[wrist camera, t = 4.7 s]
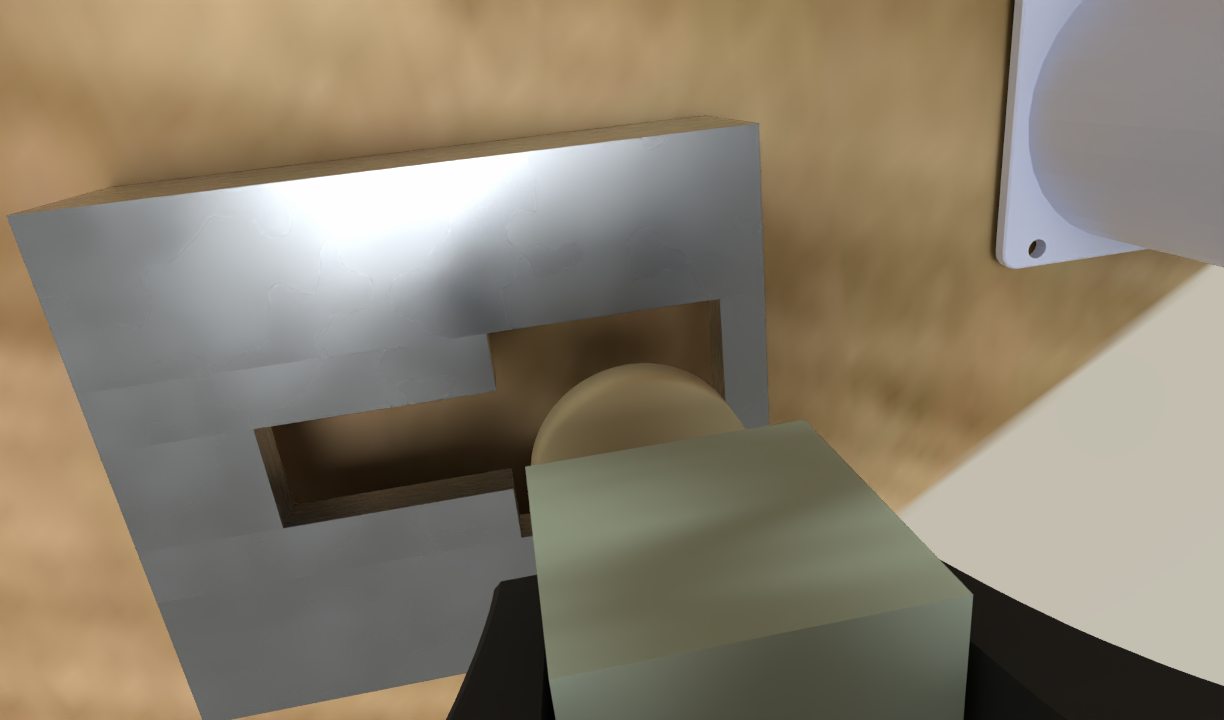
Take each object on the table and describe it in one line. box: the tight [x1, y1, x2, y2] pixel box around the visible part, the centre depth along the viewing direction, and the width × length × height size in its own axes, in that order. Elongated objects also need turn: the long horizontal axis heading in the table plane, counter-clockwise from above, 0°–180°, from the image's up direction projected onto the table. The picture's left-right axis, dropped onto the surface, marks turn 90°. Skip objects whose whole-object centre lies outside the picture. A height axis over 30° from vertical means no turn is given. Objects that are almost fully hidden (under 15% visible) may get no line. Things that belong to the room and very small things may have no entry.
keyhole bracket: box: [7, 116, 769, 720], centre depth 18 cm, size 14×12×4 cm
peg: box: [525, 363, 973, 720], centre depth 11 cm, size 4×4×7 cm
